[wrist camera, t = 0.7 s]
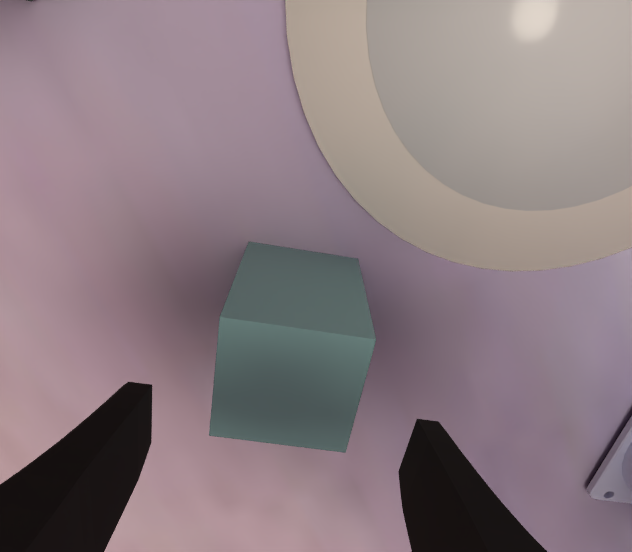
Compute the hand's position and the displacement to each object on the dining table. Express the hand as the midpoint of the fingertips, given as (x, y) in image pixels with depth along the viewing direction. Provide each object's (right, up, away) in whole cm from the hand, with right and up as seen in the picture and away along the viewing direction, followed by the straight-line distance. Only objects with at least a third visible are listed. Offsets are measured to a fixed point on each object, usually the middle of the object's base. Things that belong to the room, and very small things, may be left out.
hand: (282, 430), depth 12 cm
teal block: (0, +3, +7) cm, 8 cm away
